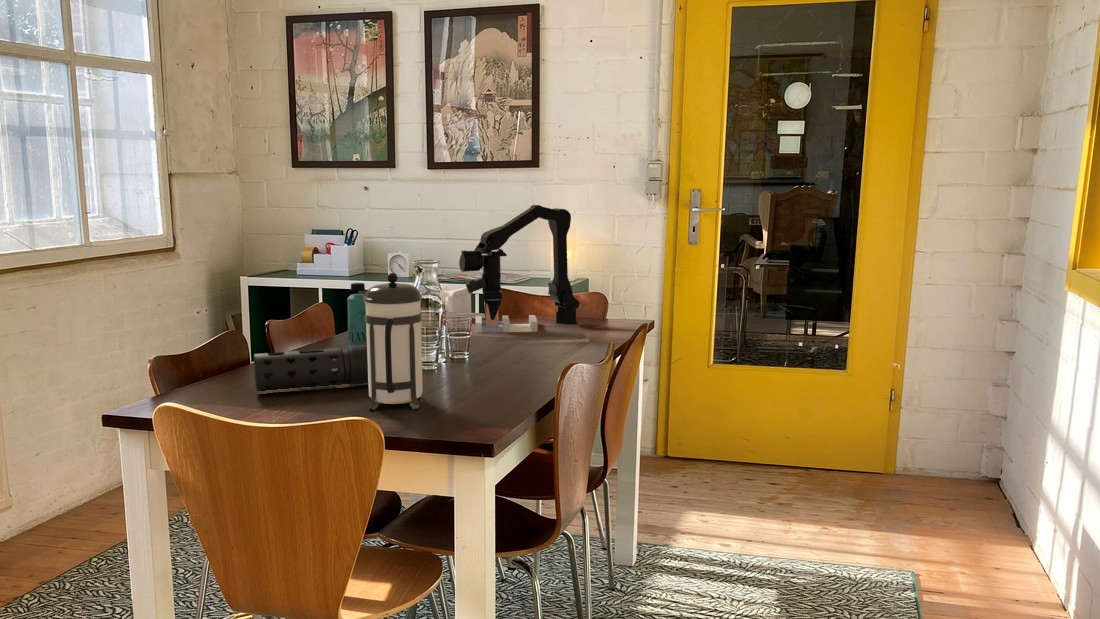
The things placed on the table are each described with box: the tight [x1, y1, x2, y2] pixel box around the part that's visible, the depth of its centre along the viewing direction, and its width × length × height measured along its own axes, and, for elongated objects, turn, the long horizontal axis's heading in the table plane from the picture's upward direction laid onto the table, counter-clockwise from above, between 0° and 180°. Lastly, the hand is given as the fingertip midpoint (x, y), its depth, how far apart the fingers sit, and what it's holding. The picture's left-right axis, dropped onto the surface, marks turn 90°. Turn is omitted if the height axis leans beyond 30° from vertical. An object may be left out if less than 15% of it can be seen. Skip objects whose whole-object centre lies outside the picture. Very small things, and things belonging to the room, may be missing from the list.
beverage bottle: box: [346, 282, 367, 347], centre depth 252 cm, size 6×7×20 cm
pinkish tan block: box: [485, 303, 500, 329], centre depth 282 cm, size 4×4×9 cm
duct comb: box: [475, 314, 539, 334], centre depth 283 cm, size 20×14×4 cm
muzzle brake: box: [253, 345, 368, 391], centre depth 207 cm, size 10×28×10 cm, turn 111°
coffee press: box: [364, 272, 424, 406], centre depth 191 cm, size 17×16×30 cm
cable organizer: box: [440, 285, 472, 314], centre depth 301 cm, size 15×11×12 cm
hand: (492, 317), depth 282 cm, fingers open, 9 cm apart
